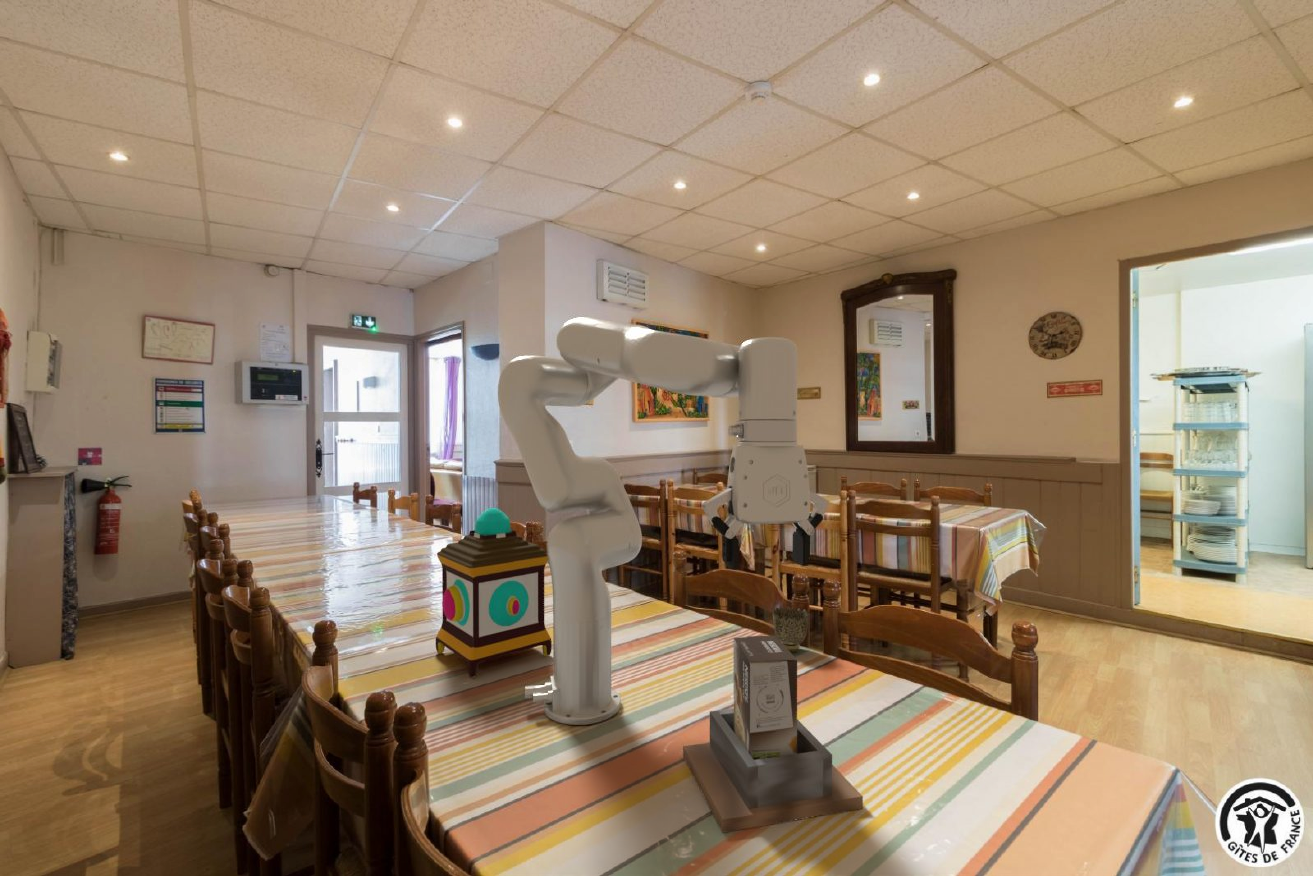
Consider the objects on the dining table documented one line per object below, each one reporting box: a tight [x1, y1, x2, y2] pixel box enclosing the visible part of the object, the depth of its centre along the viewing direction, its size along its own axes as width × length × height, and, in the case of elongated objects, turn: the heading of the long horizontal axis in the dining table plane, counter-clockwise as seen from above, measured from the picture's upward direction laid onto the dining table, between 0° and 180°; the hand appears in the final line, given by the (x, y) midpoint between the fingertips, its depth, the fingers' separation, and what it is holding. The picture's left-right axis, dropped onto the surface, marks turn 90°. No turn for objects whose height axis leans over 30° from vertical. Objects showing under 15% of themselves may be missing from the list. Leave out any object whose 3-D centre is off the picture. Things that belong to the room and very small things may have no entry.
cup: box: [772, 606, 810, 653], centre depth 123 cm, size 8×7×8 cm
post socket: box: [682, 708, 864, 833], centre depth 77 cm, size 18×16×6 cm
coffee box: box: [732, 635, 798, 760], centre depth 77 cm, size 9×6×16 cm
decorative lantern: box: [435, 507, 553, 679], centre depth 120 cm, size 20×20×30 cm
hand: (766, 565), depth 77 cm, fingers open, 9 cm apart
